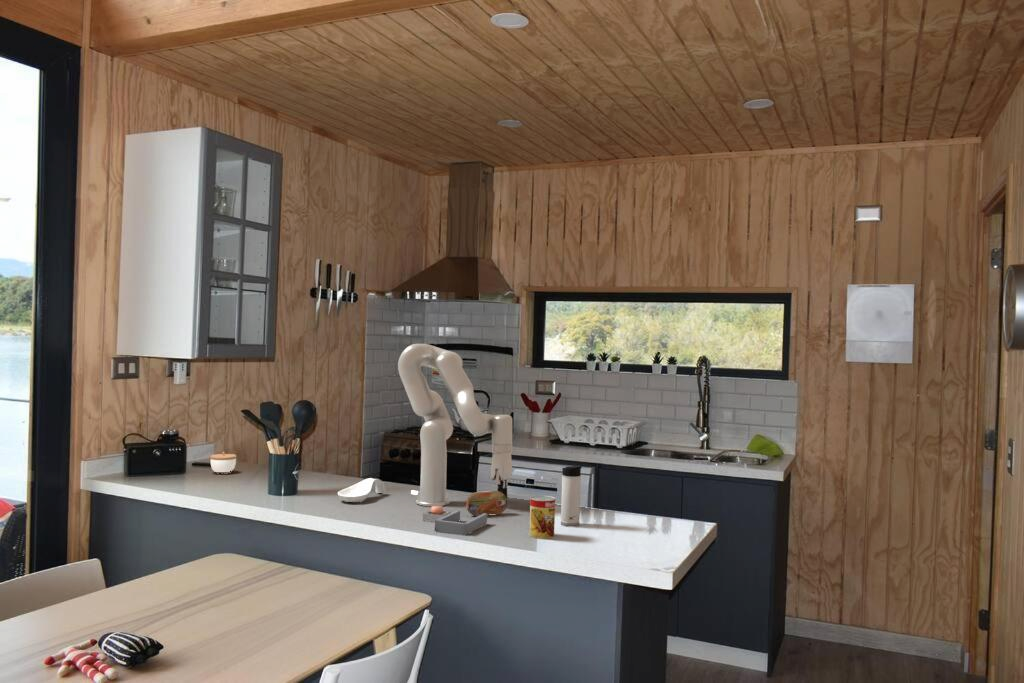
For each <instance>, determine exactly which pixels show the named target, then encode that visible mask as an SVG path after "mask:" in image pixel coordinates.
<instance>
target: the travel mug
mask: <svg viewBox="0 0 1024 683" xmlns="http://www.w3.org/2000/svg"><path fill="white" fill-rule="evenodd" d="M582 467H583V466H582V465H572V466H565V467H562V474H561V502H560V504H561V506H560V525H561V526H563V525H564V526H563V527H568V526H575V527H579V526H580V519H581V518H580V515H581V514H580V512H581V509H580V508H581V482H582V481H581V475H582V474H581V472H582V469H583V468H582Z"/></svg>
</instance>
